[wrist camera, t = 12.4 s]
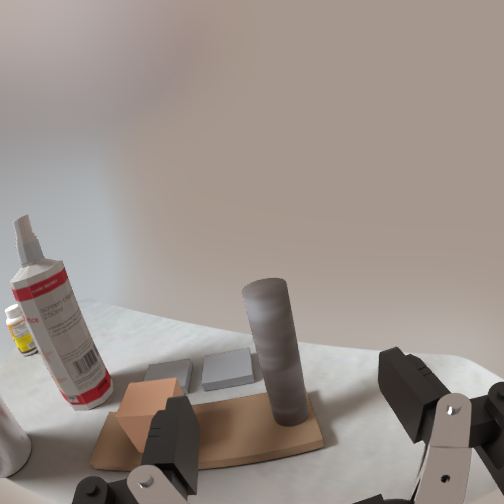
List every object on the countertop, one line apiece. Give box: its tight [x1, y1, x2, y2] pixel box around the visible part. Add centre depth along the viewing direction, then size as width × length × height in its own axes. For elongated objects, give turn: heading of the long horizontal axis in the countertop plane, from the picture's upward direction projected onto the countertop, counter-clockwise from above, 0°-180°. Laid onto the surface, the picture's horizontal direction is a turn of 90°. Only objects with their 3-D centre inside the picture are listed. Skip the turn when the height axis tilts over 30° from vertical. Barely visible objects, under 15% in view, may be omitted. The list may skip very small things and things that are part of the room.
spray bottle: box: [9, 215, 114, 410], centre depth 31 cm, size 8×7×25 cm
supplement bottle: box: [5, 304, 38, 356], centre depth 48 cm, size 6×6×10 cm
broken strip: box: [143, 347, 254, 394], centre depth 36 cm, size 14×6×1 cm, turn 94°
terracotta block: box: [116, 377, 185, 453], centre depth 24 cm, size 5×5×5 cm
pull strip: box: [89, 278, 324, 471], centre depth 23 cm, size 22×8×14 cm, turn 94°
